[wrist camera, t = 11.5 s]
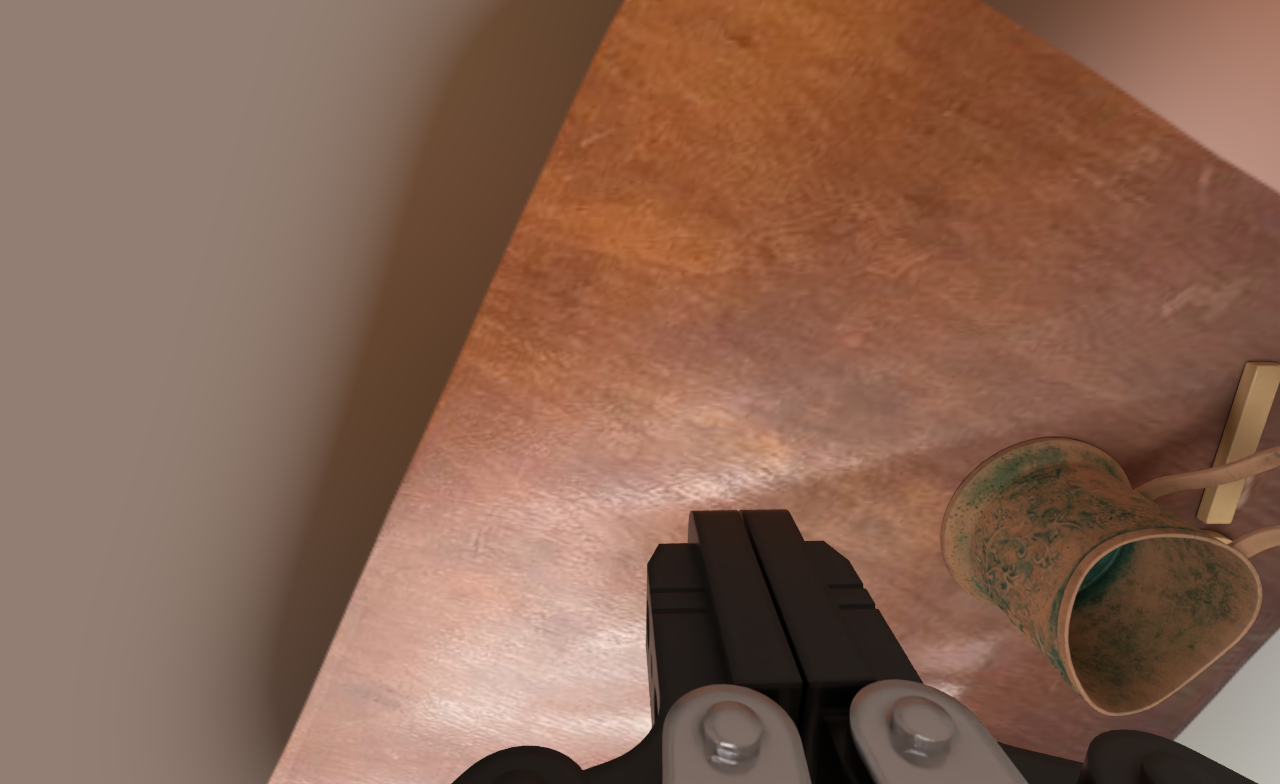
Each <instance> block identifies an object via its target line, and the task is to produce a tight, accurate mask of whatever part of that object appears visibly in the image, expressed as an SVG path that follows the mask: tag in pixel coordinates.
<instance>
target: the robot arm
mask: <svg viewBox="0 0 1280 784" xmlns="http://www.w3.org/2000/svg"><path fill="white" fill-rule="evenodd" d="M646 654H647V667H648V680H649V693H650V706H651V719H652V729H651V730H650V732H649V734H648V735H647V736H646V737H645V738H644V739H643V740H642V741H641V742H640V743H639V744H638V745H637V746H636V747H634V748H633V749H632V750H630V751H629V752H627V753H625V754H624V755H622V756H620V757H618V758H615V759H613V760H611V761H608V762H605V763H603V764H600V765H597V766H594V767H591V768H588V769H586V770H582V769H581V768H580V766H579V765H578V764H577V763H575V762H574V761H573V760H572V759H571V758H569V757H568V756H566V755H564V754H562V753H561V752H558V751H556V750H553V749H550V748H546V747H540V746H518V747H511V748H508V749H504V750H500V751H498V752H495V753H493V754H491V755H488V756H486V757H485V758H483V759H481V760H480V761H478V762H476V763H475V764H474V765H472V766H471V767H470V768H469V769H467V770H466V771H465V772H464V773H463V774H462V775H460V776H459V777H458V778H457V779H456V780H455V781H454V782H453V783H452V784H1258V783H1255V782H1254V781H1252V780H1250V779H1248V778H1246V777H1244V776H1242V775H1240V774H1238V773H1236V772H1234V771H1233V770H1231V769H1229V768H1227V767H1225V766H1223V765H1221V764H1219V763H1217V762H1215V761H1213V760H1211V759H1209V758H1207V757H1206V756H1204V755H1202V754H1200V753H1198V752H1196V751H1194V750H1192V749H1190V748H1188V747H1186V746H1184V745H1181V744H1179V743H1177V742H1175V741H1172V740H1169V739H1167V738H1164V737H1161V736H1158V735H1154V734H1151V733H1146V732H1141V731H1136V730H1111V731H1108V732H1104V733H1102V734H1100V735H1098V736H1097V737H1095V738H1094V739H1093V740H1092V742H1091V743H1090V745H1089V748H1088V750H1087V754H1086V757H1085V760H1084V763H1081V762H1077V761H1073V760H1068V759H1064V758H1060V757H1056V756H1051V755H1047V754H1043V753H1039V752H1034V751H1030V750H1026V749H1022V748H1017V747H1014V746H1010V745H1007V744H1003V743H1001V742H998V741H996V740H995V739H994V738H993V736H992V735H991V734H990V732H989V731H988V730H987V728H986V727H985V726H984V724H983V723H982V722H981V721H980V720H979V719H978V717H977V716H976V715H975V714H974V713H973V712H971V711H970V710H969V709H968V708H967V707H966V706H964V705H963V704H962V703H960V702H959V701H958V700H956V699H955V698H953V697H951V696H949V695H948V694H946V693H944V692H942V691H940V690H938V689H936V688H933V687H930V686H928V685H925V684H923V682H922V680H921V679H920V677H919V675H918V674H917V672H916V670H915V669H914V667H913V666H912V664H911V662H910V661H909V659H908V657H907V656H906V654H905V652H904V651H903V649H902V647H901V646H900V644H899V642H898V641H897V639H896V637H895V636H894V634H893V632H892V631H891V629H890V628H889V626H888V624H887V623H886V621H885V619H884V618H883V616H882V614H881V613H880V611H879V609H876V608H875V603H874V601H873V599H872V598H871V596H870V595H869V593H868V591H867V590H866V589H864V588H863V583H862V581H861V580H860V578H859V576H858V575H857V573H856V571H855V570H854V568H853V566H852V565H851V563H850V561H849V560H848V559H846V558H845V557H844V556H842V555H841V554H840V553H839V552H837V551H836V550H835V549H833V548H832V547H831V546H830V545H828V544H827V543H826V542H824V541H804V539H803V537H802V535H801V533H800V531H799V529H798V527H797V526H796V524H795V522H794V520H793V518H792V516H791V514H790V512H789V511H788V510H786V509H772V510H740V511H739V512H738V511H737V510H714V511H691V512H690V515H689V524H688V543H677V544H659V545H658V547H657V548H656V550H655V552H654V554H653V555H652V557H651V559H650V560H649V562H648V564H647V613H646Z"/></svg>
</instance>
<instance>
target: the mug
mask: <svg viewBox="0 0 1280 784" xmlns="http://www.w3.org/2000/svg"><path fill="white" fill-rule="evenodd" d="M1279 466H1280V446H1278V447H1273V448H1270V449H1266V450H1263V451H1260V452H1257V453H1255V454H1252V455H1249V456H1247V457H1244V458H1241V459H1239V460H1236V461H1233V462H1230V463H1228V464H1225V465H1221V466H1217V467H1214V468H1209V469H1204V470H1199V471H1192V472H1186V473H1179V474H1173V475H1168V476H1163V477H1159V478H1156V479H1153V480H1151V481H1148V482H1146V483H1145V484H1143V485H1141V486H1139V487H1137V488H1135V489H1132V488H1131V485H1130V482H1129V480H1128V478H1127V476H1126V474H1125V472H1124V471H1123V469H1122V468H1121V467H1120V465H1119V464H1118V463H1117V462H1116V461H1115V460H1114V459H1113V458H1112V457H1110V456H1109V455H1108V454H1106V453H1105V452H1103V451H1101V450H1100V449H1098V448H1096V447H1094V446H1092V445H1089V444H1087V443H1084V442H1081V441H1078V440H1074V439H1068V438H1041V439H1034V440H1030V441H1026V442H1022V443H1019V444H1016V445H1014V446H1011V447H1009V448H1007V449H1004V450H1003V451H1001V452H999V453H997V454H995V455H994V456H992V457H990V458H989V459H987V460H986V461H985V462H983V463H982V464H981V465H980V466H978V467H977V468H976V469H975V470H974V471H973V472H972V473H971V474H970V475H969V476H968V477H967V478H966V479H965V480H964V481H963V483H962V484H961V485H960V487H959V488H958V489H957V491H956V492H955V494H954V496H953V497H952V499H951V501H950V503H949V505H948V508H947V510H946V513H945V516H944V519H943V523H942V529H941V548H942V554H943V558H944V561H945V563H946V566H947V568H948V570H949V572H950V573H951V575H952V576H953V577H954V579H955V580H956V581H957V582H958V584H959V585H960V586H961V587H962V588H963V589H964V590H965V591H966V592H968V593H969V594H970V595H972V596H973V597H975V598H977V599H978V600H980V601H983V602H985V603H987V604H990V605H993V606H997V607H1000V608H1001V609H1002V610H1003V611H1004V612H1005V613H1006V614H1007V616H1008V618H1009V619H1010V621H1011V622H1012V623H1013V624H1014V625H1015V626H1017V627H1018V628H1019V629H1020V631H1021V632H1022V634H1023V635H1024V636H1025V637H1026V638H1028V639H1029V640H1030V641H1031V642H1032V643H1033V644H1034V645H1035V646H1036V647H1037V648H1038V649H1039V650H1040V651H1041V652H1042V653H1043V654H1044V655H1045V656H1046V657H1047V658H1048V660H1049V661H1050V662H1051V664H1052V665H1053V666H1054V667H1055V668H1056V669H1057V670H1058V671H1059V672H1060V673H1061V675H1062V677H1063V679H1064V680H1065V682H1066V683H1067V684H1068V685H1069V686H1070V687H1071V688H1072V689H1073V690H1074V691H1076V692H1077V693H1078V694H1079V695H1080V696H1081V697H1082V698H1083V699H1085V700H1086V701H1087V702H1088V703H1089V704H1090V705H1091V706H1092V707H1093V708H1095V709H1096V710H1097V711H1099V712H1100V713H1103V714H1106V715H1111V716H1121V715H1129V714H1134V713H1138V712H1141V711H1144V710H1147V709H1149V708H1151V707H1153V706H1155V705H1157V704H1158V703H1160V702H1162V701H1163V700H1165V699H1166V698H1168V697H1169V696H1170V695H1172V694H1173V693H1175V692H1176V691H1177V690H1179V689H1180V688H1181V687H1183V686H1184V685H1185V684H1187V683H1188V682H1189V681H1191V680H1192V679H1193V678H1195V677H1196V676H1197V675H1198V674H1200V673H1201V672H1202V671H1203V670H1205V669H1206V668H1207V667H1208V666H1210V665H1211V664H1212V663H1213V662H1214V661H1216V660H1217V659H1218V658H1219V657H1220V656H1222V655H1223V654H1224V653H1225V652H1227V651H1228V650H1229V649H1230V648H1231V647H1233V646H1234V645H1235V644H1236V643H1237V642H1238V641H1239V640H1240V639H1241V638H1242V637H1243V636H1244V635H1245V634H1246V632H1247V631H1248V630H1249V628H1250V627H1251V626H1252V624H1253V622H1254V621H1255V619H1256V617H1257V615H1258V612H1259V610H1260V606H1261V602H1262V586H1261V581H1260V579H1259V576H1258V574H1257V572H1256V570H1255V568H1254V567H1253V565H1252V564H1251V563H1250V561H1249V560H1248V558H1249V557H1251V556H1253V555H1255V554H1256V553H1258V552H1261V551H1263V550H1265V549H1268V548H1271V547H1274V546H1279V545H1280V525H1276V526H1269V527H1264V528H1261V529H1257V530H1255V531H1252V532H1249V533H1247V534H1245V535H1243V536H1241V537H1239V538H1238V539H1236V540H1234V541H1233V542H1231V543H1229V544H1228V545H1227V544H1225V543H1224V542H1222V541H1220V540H1218V539H1216V538H1214V537H1213V536H1211V535H1209V534H1207V533H1206V532H1204V531H1202V530H1201V529H1199V528H1197V527H1196V526H1194V525H1192V524H1190V523H1189V522H1187V521H1185V520H1184V519H1182V518H1180V517H1179V516H1177V515H1175V514H1174V513H1172V512H1170V511H1168V510H1167V509H1165V508H1163V507H1161V506H1160V505H1158V504H1156V503H1154V502H1152V501H1153V500H1155V499H1156V498H1158V497H1160V496H1163V495H1165V494H1169V493H1173V492H1179V491H1185V490H1192V489H1200V488H1207V487H1213V486H1218V485H1223V484H1227V483H1231V482H1235V481H1238V480H1241V479H1244V478H1247V477H1250V476H1253V475H1256V474H1258V473H1261V472H1264V471H1266V470H1269V469H1272V468H1275V467H1279Z"/></svg>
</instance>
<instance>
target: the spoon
mask: <svg viewBox="0 0 1280 784" xmlns="http://www.w3.org/2000/svg"><path fill="white" fill-rule="evenodd" d="M1279 382H1280V364H1277V363H1273V362H1247V363H1246V364H1245V367H1244V371H1243V374H1242V377H1241V380H1240V383H1239V386H1238V389H1237V392H1236V395H1235V398H1234V401H1233V405H1232V408H1231V411H1230V414H1229V417H1228V420H1227V423H1226V426H1225V429H1224V432H1223V435H1222V438H1221V442H1220V445H1219V448H1218V451H1217V454H1216V457H1215V460H1214V463H1213V466H1212V468H1214V467H1217V466H1221V465H1225V464H1228V463H1230V462H1233V461H1236V460H1239V459H1241V458H1244V457H1247V456H1249V455H1252V454H1255V452H1256V449H1257V446H1258V443H1259V440H1260V438H1261V435H1262V432H1263V429H1264V426H1265V423H1266V420H1267V417H1268V414H1269V411H1270V409H1271V406H1272V403H1273V400H1274V397H1275V394H1276V391H1277V388H1278V385H1279ZM1245 481H1246V478H1244V479H1241V480H1238V481H1235V482H1231V483H1227V484H1223V485H1218V486H1213V487H1207V488H1205V491H1204V494H1203V497H1202V500H1201V503H1200V506H1199V510H1198V513H1197V516H1196V518H1197V519H1199V520H1201V521H1203V522H1204V523H1206V524H1230V523H1231V522H1232V519H1233V516H1234V513H1235V510H1236V507H1237V504H1238V502H1239V499H1240V496H1241V493H1242V490H1243V487H1244V484H1245ZM1202 531H1204V532H1206V533H1207V534H1209V535H1211V536H1213V537H1214V538H1216V539H1218V540H1220V541H1222V542H1224V543H1225V544H1227V545H1228V544H1229V543H1231V542H1233V541H1231V540H1230V539H1228V538H1226V537H1225V536H1223V535H1221V534H1219V533H1217V532H1215V531H1211V530H1202Z"/></svg>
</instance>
